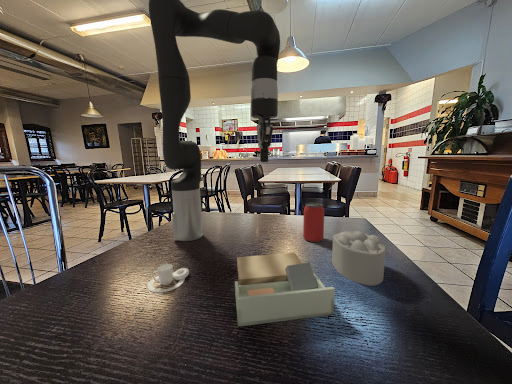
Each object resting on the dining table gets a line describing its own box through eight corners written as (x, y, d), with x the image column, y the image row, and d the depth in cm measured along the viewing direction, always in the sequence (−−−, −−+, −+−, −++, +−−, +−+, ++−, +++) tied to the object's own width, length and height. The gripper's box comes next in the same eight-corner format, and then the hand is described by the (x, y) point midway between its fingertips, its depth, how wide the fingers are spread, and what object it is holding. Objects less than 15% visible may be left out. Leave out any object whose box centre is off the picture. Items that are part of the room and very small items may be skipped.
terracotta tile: (247, 290, 41) (247, 299, 42) (250, 308, 37) (251, 318, 37) (272, 287, 42) (272, 296, 43) (279, 304, 37) (279, 315, 38)
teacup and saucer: (190, 272, 54) (189, 257, 54) (186, 291, 46) (184, 274, 46) (153, 276, 53) (151, 260, 52) (142, 296, 45) (140, 278, 44)
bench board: (240, 292, 45) (239, 279, 44) (237, 268, 55) (236, 257, 54) (308, 285, 47) (309, 272, 47) (294, 263, 57) (294, 252, 56)
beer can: (324, 243, 69) (325, 206, 67) (303, 242, 71) (304, 206, 69) (322, 235, 76) (323, 202, 74) (303, 234, 77) (303, 201, 75)
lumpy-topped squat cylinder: (365, 257, 60) (367, 227, 58) (396, 285, 47) (400, 247, 45) (327, 258, 59) (328, 228, 58) (348, 286, 47) (351, 248, 45)
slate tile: (291, 293, 43) (294, 291, 42) (284, 269, 46) (287, 265, 45) (314, 289, 45) (317, 286, 43) (306, 265, 47) (309, 262, 46)
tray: (237, 326, 36) (236, 299, 35) (235, 294, 44) (234, 272, 44) (333, 314, 38) (335, 288, 38) (314, 286, 47) (314, 264, 46)
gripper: (248, 104, 67) (249, 161, 70) (253, 92, 54) (254, 163, 57) (272, 105, 68) (272, 161, 71) (283, 93, 55) (282, 162, 58)
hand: (264, 161), depth 64 cm, fingers closed
